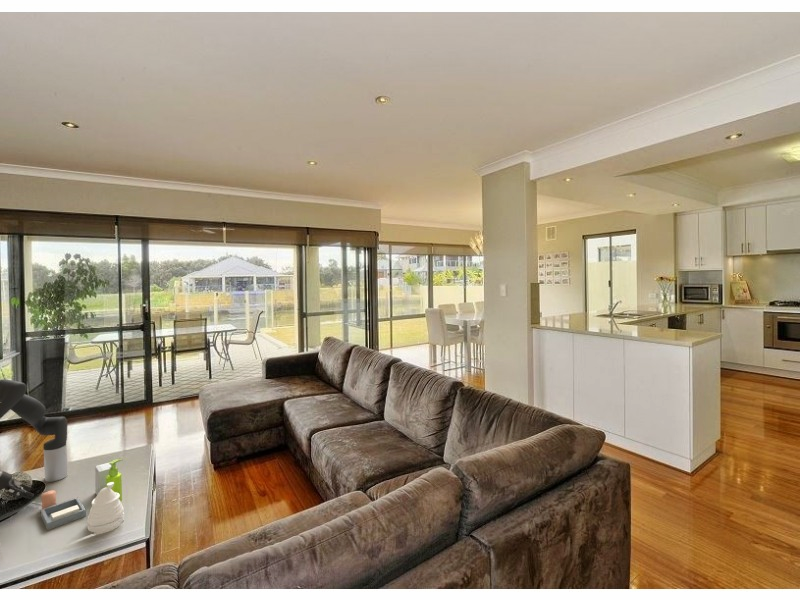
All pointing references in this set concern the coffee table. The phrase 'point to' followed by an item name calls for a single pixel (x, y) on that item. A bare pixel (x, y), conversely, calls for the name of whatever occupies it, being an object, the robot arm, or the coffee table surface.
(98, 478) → the skincare box
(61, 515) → the cream rectangular block
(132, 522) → the coffee table surface
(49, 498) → the peach rounded ovoid
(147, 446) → the coffee table surface
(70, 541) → the coffee table surface
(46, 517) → the tray
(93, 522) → the honey pot
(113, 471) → the soap dispenser
